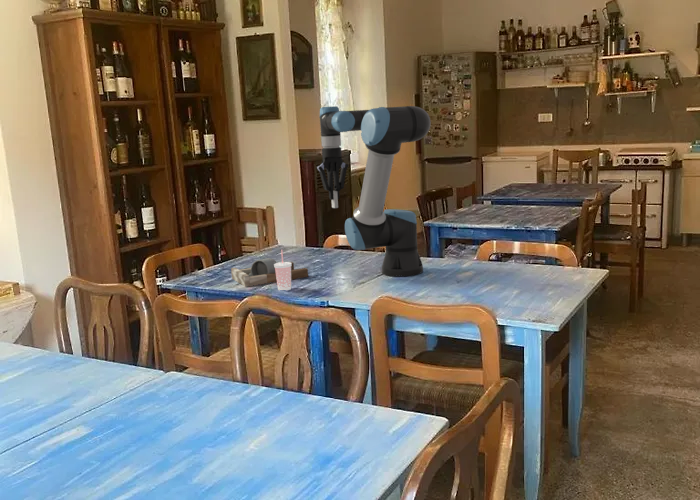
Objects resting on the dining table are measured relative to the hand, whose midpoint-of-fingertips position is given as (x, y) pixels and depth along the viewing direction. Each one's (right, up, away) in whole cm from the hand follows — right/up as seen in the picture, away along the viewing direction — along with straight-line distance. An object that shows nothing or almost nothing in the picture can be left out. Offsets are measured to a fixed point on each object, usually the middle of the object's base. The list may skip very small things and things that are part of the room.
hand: (335, 207), depth 281 cm
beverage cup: (-17, -30, -33) cm, 48 cm away
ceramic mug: (-27, -28, -16) cm, 41 cm away
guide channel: (-24, -27, -14) cm, 39 cm away
